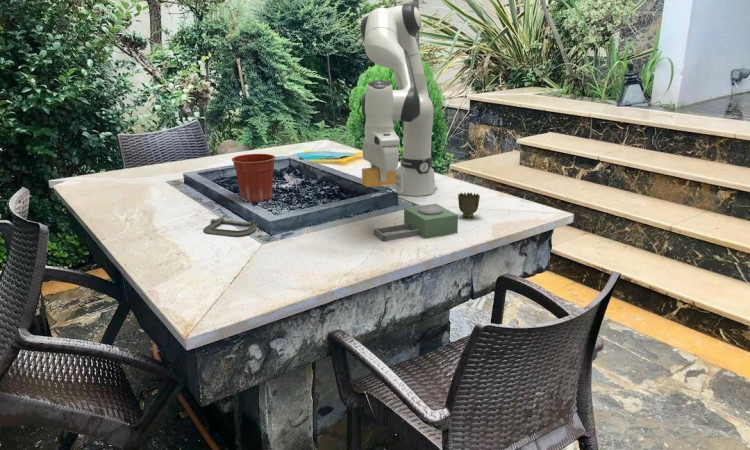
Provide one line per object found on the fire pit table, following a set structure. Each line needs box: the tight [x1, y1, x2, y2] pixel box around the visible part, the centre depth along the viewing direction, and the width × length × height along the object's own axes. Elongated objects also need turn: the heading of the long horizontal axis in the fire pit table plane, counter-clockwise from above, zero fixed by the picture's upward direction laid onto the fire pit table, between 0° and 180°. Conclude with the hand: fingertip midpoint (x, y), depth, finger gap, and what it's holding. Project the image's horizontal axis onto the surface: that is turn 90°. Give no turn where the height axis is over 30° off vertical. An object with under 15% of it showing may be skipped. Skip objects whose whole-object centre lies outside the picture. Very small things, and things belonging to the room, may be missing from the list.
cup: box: [457, 191, 481, 219], centre depth 199 cm, size 8×7×8 cm
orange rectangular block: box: [361, 167, 396, 188], centre depth 181 cm, size 4×10×5 cm, turn 112°
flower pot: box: [231, 153, 277, 203], centre depth 222 cm, size 16×16×16 cm
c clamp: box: [202, 215, 258, 238], centre depth 192 cm, size 20×17×3 cm
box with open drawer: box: [373, 203, 459, 242], centre depth 185 cm, size 14×25×7 cm, turn 115°
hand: (379, 179), depth 181 cm, fingers closed on orange rectangular block, 4 cm apart
